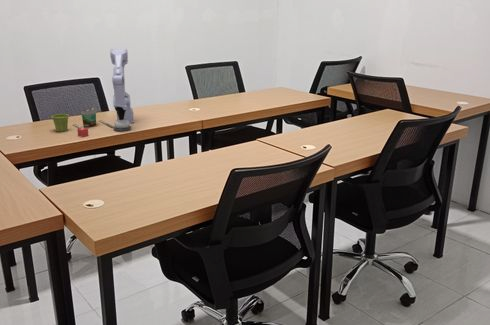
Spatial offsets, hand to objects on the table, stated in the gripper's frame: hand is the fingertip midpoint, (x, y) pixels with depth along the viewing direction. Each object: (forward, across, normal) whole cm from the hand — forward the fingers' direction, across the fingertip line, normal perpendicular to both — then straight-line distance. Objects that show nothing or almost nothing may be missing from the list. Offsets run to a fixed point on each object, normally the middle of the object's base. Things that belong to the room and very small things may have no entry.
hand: (121, 119), depth 285 cm
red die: (+6, 0, -23) cm, 24 cm away
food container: (+6, -18, -11) cm, 22 cm away
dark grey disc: (+6, 0, 0) cm, 6 cm away
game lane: (+6, -16, -11) cm, 20 cm away
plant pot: (+6, -18, -29) cm, 35 cm away
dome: (+4, 0, 0) cm, 4 cm away
